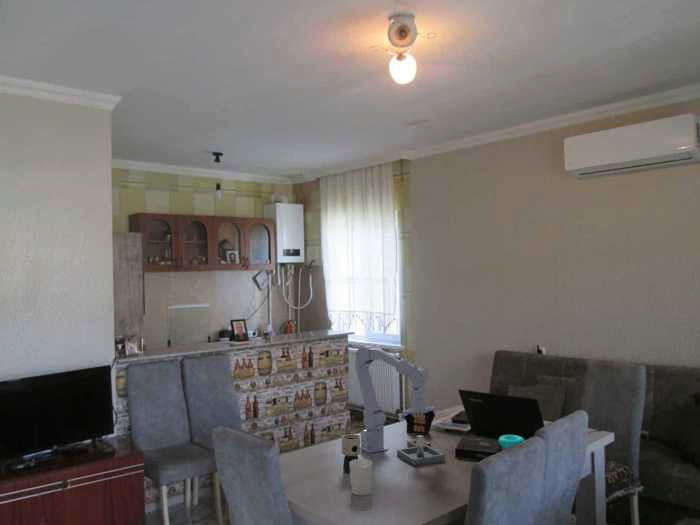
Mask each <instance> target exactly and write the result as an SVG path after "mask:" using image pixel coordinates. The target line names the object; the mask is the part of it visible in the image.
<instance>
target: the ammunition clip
mask: <svg viewBox="0 0 700 525" xmlns="http://www.w3.org/2000/svg"><path fill="white" fill-rule="evenodd" d="M407 409H410V407H409V406H408V407H407ZM412 416H413V417H415V419H414V435H420V434H423V435H422V436H429V435H430V431H427V430H426V427H425V416H424V413H421V414H414V415H412ZM406 433H407V434H411V433H410V432H409V427H408V424H407V423H406Z"/></svg>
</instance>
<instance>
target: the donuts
mask: <svg viewBox="0 0 700 525" xmlns="http://www.w3.org/2000/svg"><path fill="white" fill-rule="evenodd" d="M498 441H499V443H500V445H502V448H506V449H509V448H508V447H510V446H513V445H515V444H518V443H520V442H523V441H525V442H526V440H525V439H524V437H522V436H520V435H515V434H505V435H501V436H499V438H498Z"/></svg>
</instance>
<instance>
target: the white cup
mask: <svg viewBox="0 0 700 525" xmlns="http://www.w3.org/2000/svg"><path fill="white" fill-rule="evenodd" d="M349 464H350V472H349V477H350V485H351V486H350V487H351V494H353V495H356V496H367V495H369V494H371V493H372V484H373V483H372V482H373V461H372V460H370V459H366V458H358V459H355V460H352V461H350V463H349Z"/></svg>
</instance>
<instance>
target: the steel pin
mask: <svg viewBox="0 0 700 525" xmlns="http://www.w3.org/2000/svg"><path fill="white" fill-rule="evenodd" d="M424 436H425V435H420V434H416V436H415V440H416V451H417V457H424V440H425V438H424Z"/></svg>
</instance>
